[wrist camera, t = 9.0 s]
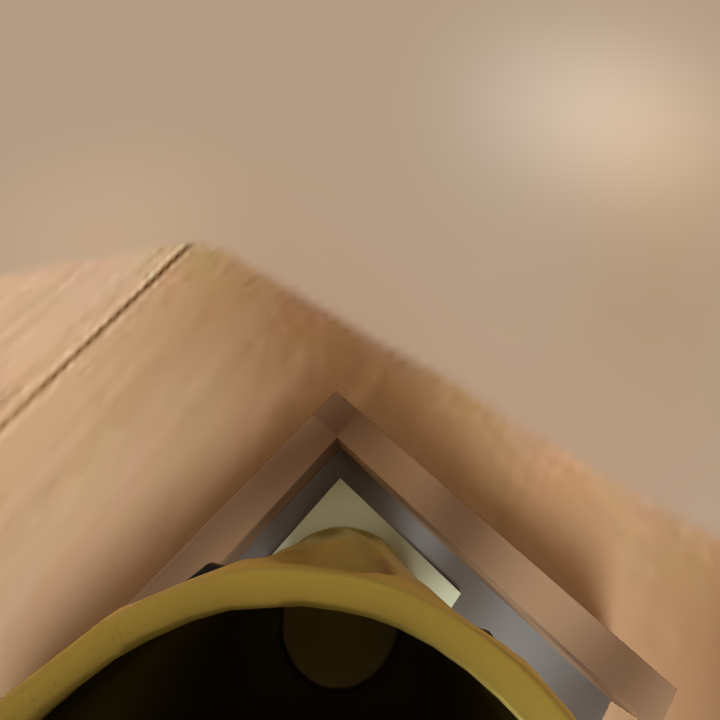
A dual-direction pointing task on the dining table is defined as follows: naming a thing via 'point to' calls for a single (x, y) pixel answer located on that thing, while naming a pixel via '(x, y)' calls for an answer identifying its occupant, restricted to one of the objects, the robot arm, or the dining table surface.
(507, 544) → the arena
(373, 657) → the vase
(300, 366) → the dining table surface
